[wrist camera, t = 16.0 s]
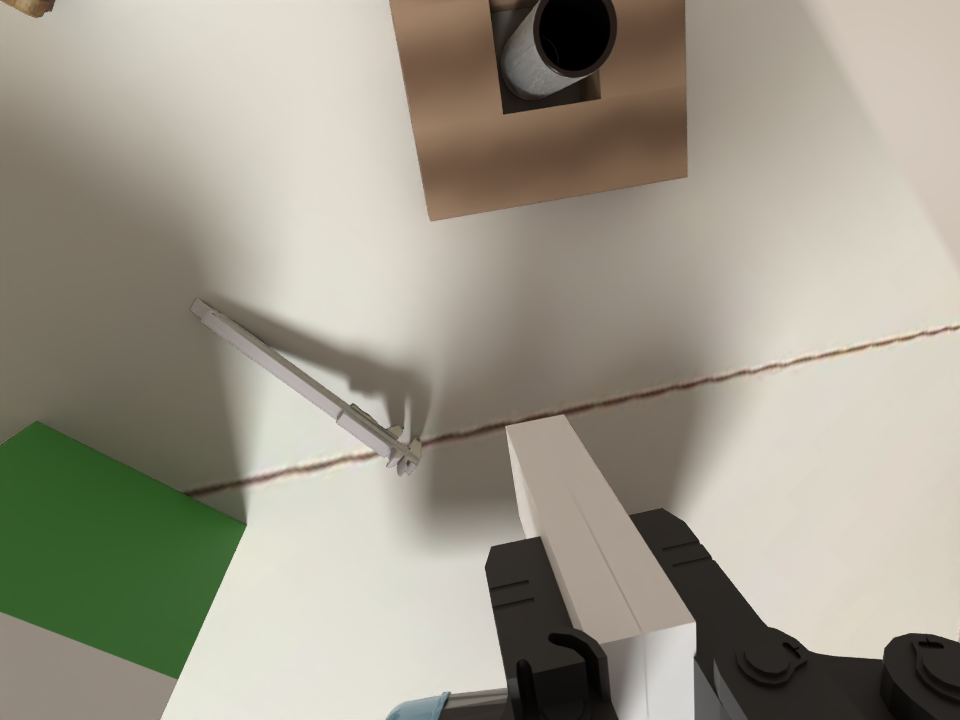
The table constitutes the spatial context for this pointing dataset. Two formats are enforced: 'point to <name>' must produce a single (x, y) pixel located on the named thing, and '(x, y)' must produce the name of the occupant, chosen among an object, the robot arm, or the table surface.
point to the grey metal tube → (558, 46)
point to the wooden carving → (32, 6)
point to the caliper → (315, 392)
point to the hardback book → (98, 581)
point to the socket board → (539, 110)
